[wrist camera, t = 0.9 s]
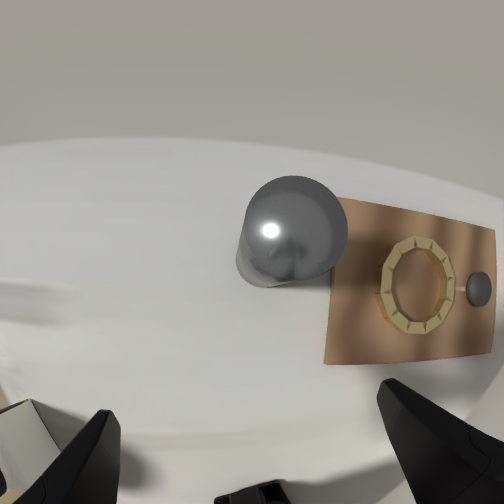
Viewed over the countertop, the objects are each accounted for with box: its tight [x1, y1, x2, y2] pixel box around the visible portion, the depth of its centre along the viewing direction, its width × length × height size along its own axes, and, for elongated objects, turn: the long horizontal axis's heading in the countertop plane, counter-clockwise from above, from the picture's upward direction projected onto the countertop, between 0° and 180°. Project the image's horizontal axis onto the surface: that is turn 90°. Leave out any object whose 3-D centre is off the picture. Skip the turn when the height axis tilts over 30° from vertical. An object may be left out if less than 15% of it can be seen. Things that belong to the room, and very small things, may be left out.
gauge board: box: [324, 197, 497, 365], centre depth 24 cm, size 21×14×2 cm, turn 85°
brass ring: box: [374, 235, 455, 334], centre depth 24 cm, size 8×8×1 cm
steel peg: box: [236, 176, 348, 287], centre depth 18 cm, size 4×4×12 cm
